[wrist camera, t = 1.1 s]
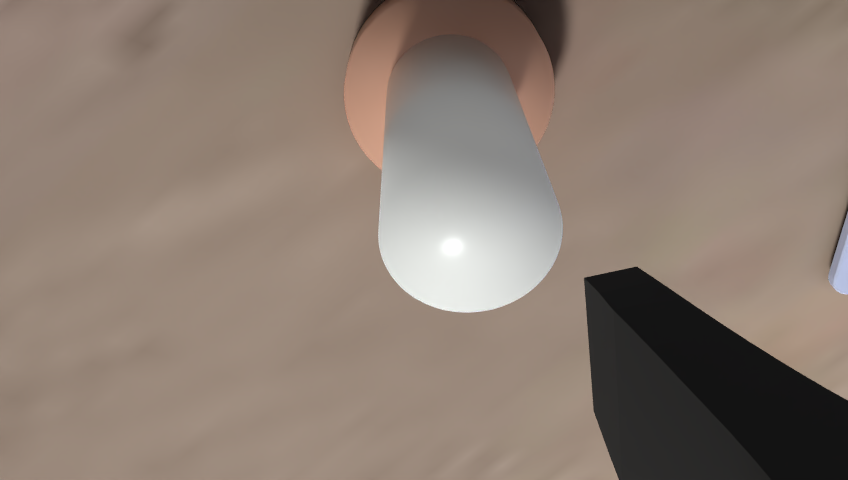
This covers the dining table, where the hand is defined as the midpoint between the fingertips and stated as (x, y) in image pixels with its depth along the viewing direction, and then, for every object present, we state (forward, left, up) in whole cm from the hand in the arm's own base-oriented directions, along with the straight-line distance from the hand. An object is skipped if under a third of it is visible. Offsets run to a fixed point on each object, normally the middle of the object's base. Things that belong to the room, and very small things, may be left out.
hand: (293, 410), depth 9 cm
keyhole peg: (-2, 0, -12) cm, 12 cm away
